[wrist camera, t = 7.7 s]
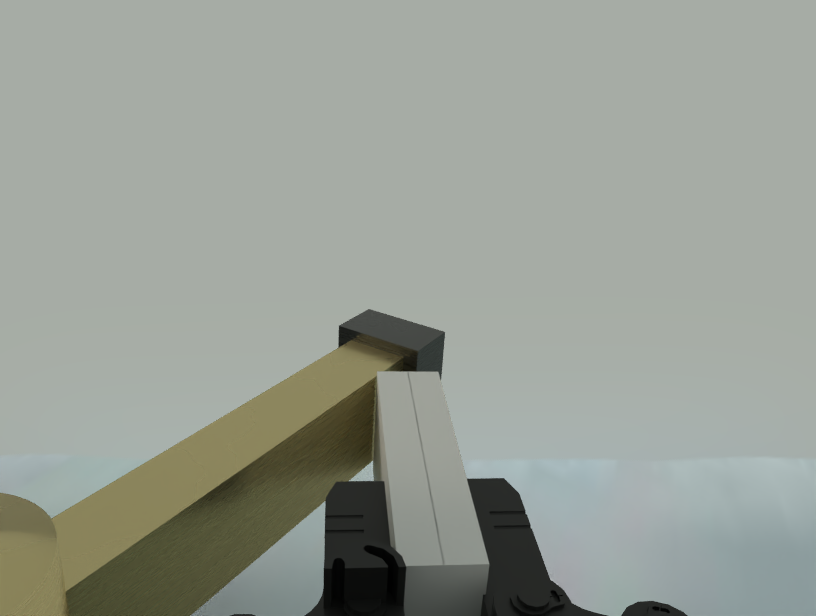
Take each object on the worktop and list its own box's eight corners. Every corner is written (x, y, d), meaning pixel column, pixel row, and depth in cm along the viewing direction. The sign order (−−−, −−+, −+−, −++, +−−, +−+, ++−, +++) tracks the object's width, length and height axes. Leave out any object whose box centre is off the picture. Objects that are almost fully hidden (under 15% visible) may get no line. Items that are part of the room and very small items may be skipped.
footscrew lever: (-20, 1095, 11) (-147, 715, 8) (-134, 956, 13) (-278, 589, 9) (438, 554, 22) (460, 307, 19) (350, 514, 24) (357, 278, 21)
